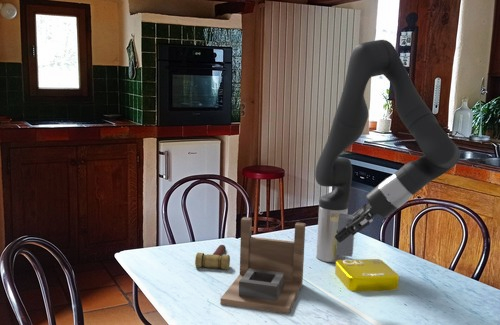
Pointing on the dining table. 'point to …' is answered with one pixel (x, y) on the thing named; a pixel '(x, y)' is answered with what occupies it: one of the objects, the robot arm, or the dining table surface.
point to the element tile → (366, 275)
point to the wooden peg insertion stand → (267, 271)
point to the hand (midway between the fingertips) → (338, 236)
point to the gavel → (213, 259)
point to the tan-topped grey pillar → (347, 244)
